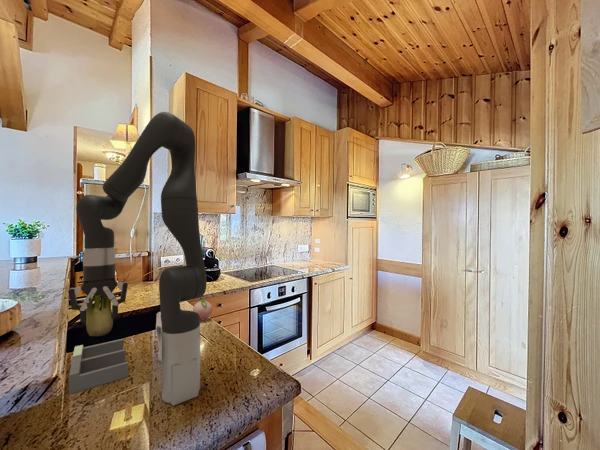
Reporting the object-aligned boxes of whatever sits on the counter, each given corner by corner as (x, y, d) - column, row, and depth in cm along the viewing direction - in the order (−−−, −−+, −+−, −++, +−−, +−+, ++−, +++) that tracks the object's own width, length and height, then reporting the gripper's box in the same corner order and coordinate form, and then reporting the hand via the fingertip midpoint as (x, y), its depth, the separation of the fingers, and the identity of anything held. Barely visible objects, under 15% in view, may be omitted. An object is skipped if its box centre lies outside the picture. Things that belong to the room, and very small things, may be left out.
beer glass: (155, 364, 82) (155, 317, 82) (156, 354, 88) (156, 311, 88) (179, 359, 85) (179, 313, 86) (178, 350, 92) (178, 308, 92)
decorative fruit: (190, 319, 123) (190, 298, 123) (208, 315, 127) (208, 295, 128) (196, 325, 115) (196, 302, 115) (214, 321, 120) (214, 299, 120)
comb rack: (128, 376, 75) (128, 358, 75) (68, 394, 67) (68, 373, 67) (123, 349, 92) (123, 334, 92) (75, 361, 84) (75, 345, 84)
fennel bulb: (84, 339, 72) (84, 296, 72) (90, 333, 76) (91, 292, 77) (109, 336, 74) (109, 294, 74) (114, 330, 79) (114, 290, 79)
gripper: (65, 267, 69) (65, 330, 68) (130, 262, 78) (130, 318, 77) (68, 264, 75) (68, 322, 74) (127, 260, 83) (127, 312, 83)
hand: (99, 320), depth 76 cm, fingers closed on fennel bulb, 6 cm apart
